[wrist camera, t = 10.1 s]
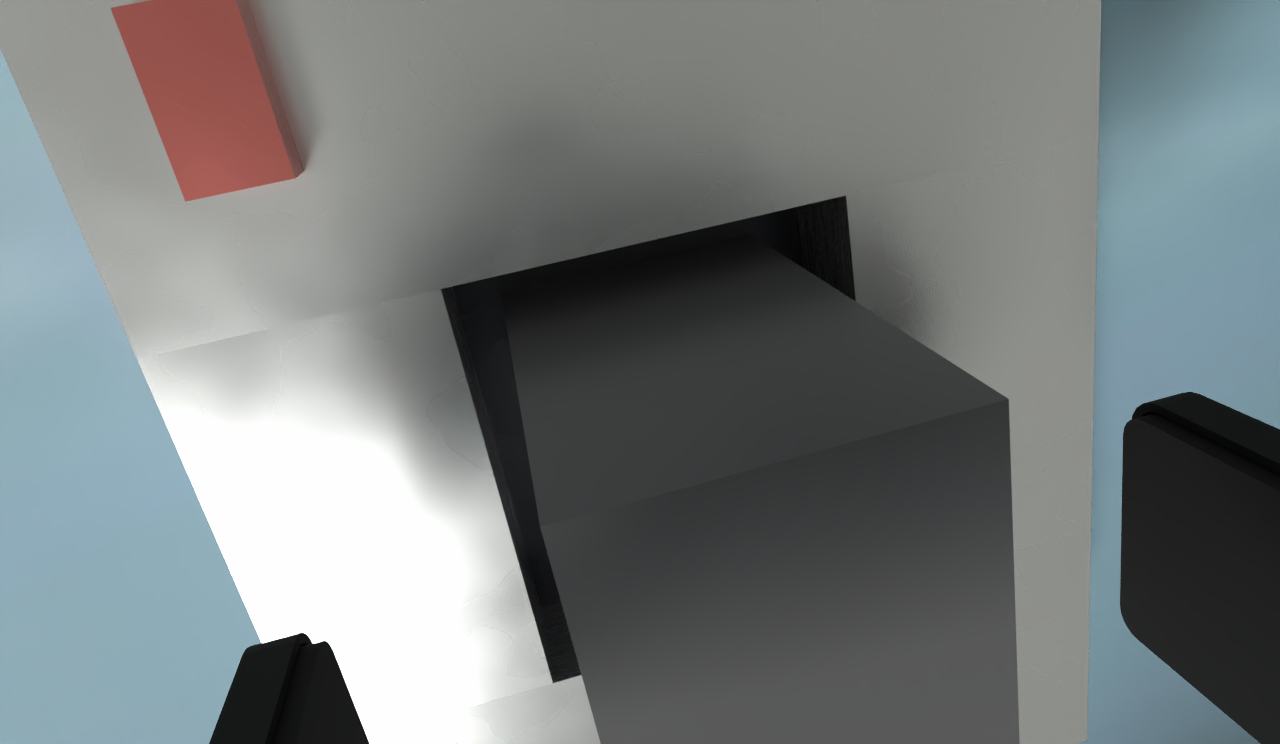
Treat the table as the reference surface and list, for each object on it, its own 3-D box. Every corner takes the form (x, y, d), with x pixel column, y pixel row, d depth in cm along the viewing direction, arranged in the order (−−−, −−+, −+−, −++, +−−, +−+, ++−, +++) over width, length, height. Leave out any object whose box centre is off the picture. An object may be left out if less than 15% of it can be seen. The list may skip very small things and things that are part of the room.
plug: (802, 591, 16) (1025, 947, 10) (596, 651, 16) (690, 1065, 9) (748, 233, 14) (1008, 399, 7) (500, 293, 13) (540, 527, 7)
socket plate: (1008, 654, 19) (1109, 764, 16) (408, 835, 17) (397, 992, 14) (987, -211, 12) (1143, -286, 10) (55, -44, 11) (-85, -76, 8)
